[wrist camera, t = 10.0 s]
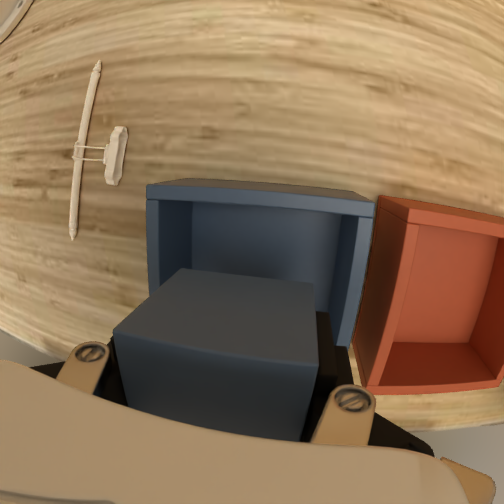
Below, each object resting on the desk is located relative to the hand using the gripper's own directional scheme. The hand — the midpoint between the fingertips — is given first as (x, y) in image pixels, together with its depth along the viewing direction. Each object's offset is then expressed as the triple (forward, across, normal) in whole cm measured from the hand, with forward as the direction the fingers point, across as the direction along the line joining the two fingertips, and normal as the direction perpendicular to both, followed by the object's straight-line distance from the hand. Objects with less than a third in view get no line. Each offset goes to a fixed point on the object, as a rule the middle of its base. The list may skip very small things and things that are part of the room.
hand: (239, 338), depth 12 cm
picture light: (+9, +12, -7) cm, 17 cm away
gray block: (0, 0, 0) cm, 0 cm away
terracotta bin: (+9, -12, 0) cm, 15 cm away
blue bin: (+9, 0, 0) cm, 9 cm away
